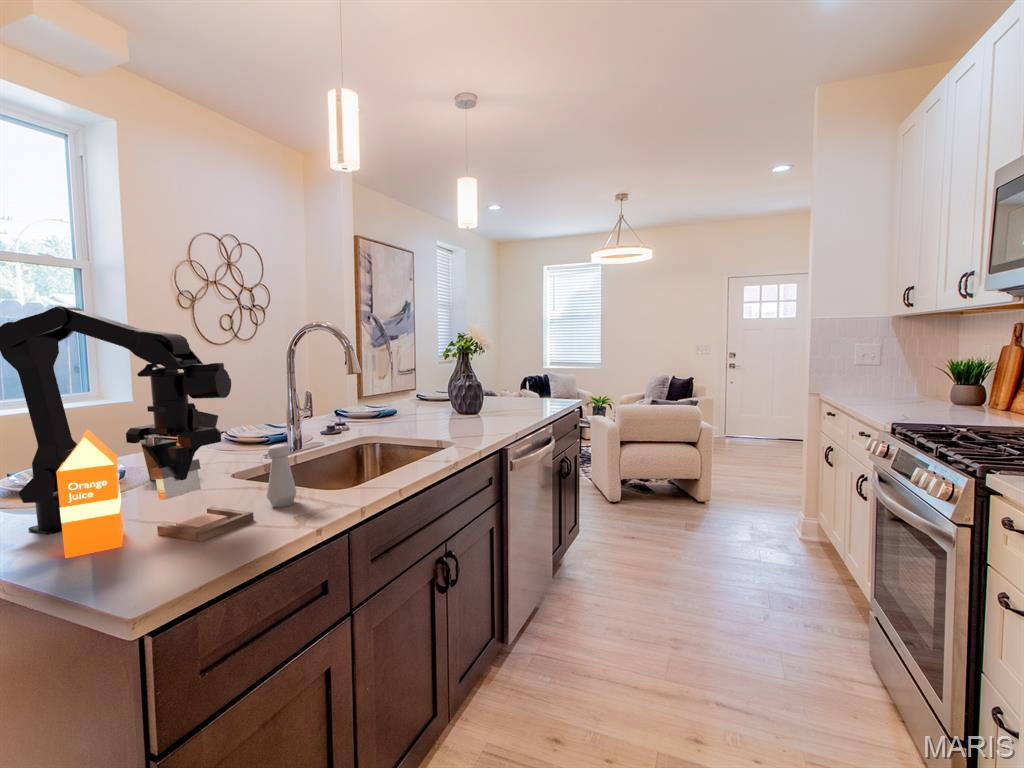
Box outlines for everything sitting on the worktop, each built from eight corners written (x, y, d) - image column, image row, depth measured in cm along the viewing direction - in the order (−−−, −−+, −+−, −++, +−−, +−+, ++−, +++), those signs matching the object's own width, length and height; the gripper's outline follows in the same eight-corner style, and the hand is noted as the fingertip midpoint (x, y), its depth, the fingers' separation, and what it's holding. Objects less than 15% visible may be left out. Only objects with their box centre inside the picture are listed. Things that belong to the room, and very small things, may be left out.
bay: (157, 534, 93) (157, 526, 93) (212, 514, 103) (212, 506, 103) (201, 541, 89) (200, 533, 89) (253, 520, 100) (253, 512, 99)
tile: (176, 532, 95) (175, 523, 95) (205, 521, 101) (205, 512, 101) (199, 536, 93) (198, 527, 93) (227, 525, 99) (227, 516, 98)
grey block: (155, 500, 95) (150, 469, 95) (193, 488, 102) (188, 459, 102) (166, 499, 94) (161, 468, 94) (203, 488, 101) (198, 459, 101)
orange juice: (63, 558, 83) (51, 439, 82) (70, 541, 90) (59, 431, 89) (123, 546, 88) (113, 433, 86) (124, 531, 95) (115, 426, 93)
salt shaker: (285, 509, 106) (281, 448, 105) (261, 508, 107) (257, 447, 106) (302, 500, 111) (299, 442, 110) (279, 499, 113) (275, 442, 111)
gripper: (242, 395, 101) (247, 472, 102) (176, 394, 108) (182, 465, 109) (190, 402, 91) (196, 487, 92) (120, 400, 97) (128, 479, 99)
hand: (177, 479), depth 98 cm, fingers closed on grey block, 3 cm apart
